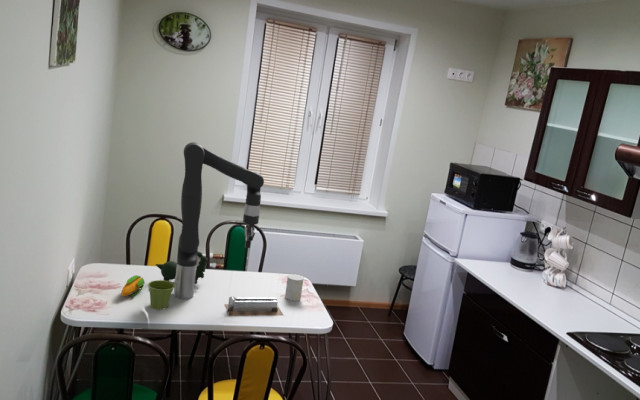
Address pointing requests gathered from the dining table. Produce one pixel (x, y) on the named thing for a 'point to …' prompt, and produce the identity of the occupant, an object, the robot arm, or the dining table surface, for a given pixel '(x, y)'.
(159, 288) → the plant pot
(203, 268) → the toy figurine
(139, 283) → the corn
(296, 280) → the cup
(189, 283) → the robot arm
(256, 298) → the tongs swing arm
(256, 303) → the arm
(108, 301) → the dining table surface
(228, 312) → the walnut board
